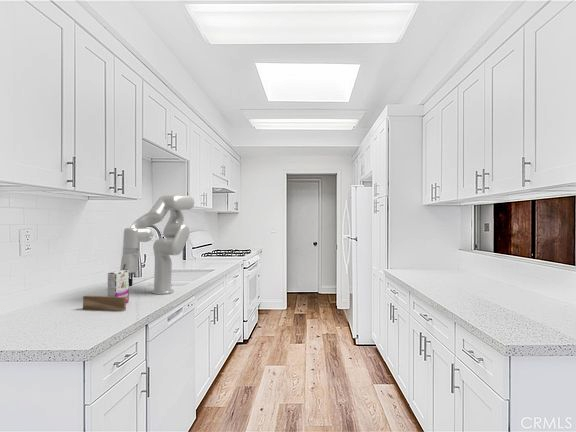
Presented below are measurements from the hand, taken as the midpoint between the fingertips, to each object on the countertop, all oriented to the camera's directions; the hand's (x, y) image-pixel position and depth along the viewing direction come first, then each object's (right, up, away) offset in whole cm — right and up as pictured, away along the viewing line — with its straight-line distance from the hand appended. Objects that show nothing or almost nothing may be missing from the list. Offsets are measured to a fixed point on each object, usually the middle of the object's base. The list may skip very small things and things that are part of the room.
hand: (128, 286), depth 214 cm
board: (-2, -7, -24) cm, 25 cm away
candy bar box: (-1, -7, -11) cm, 13 cm away
